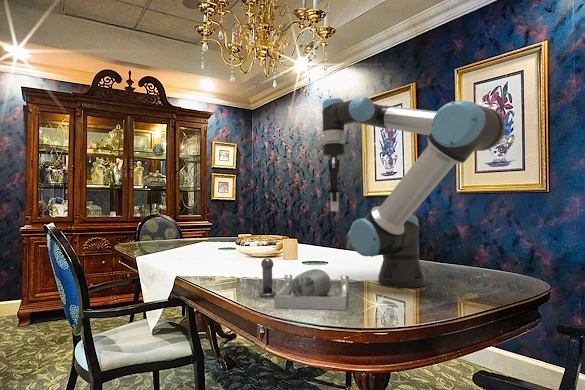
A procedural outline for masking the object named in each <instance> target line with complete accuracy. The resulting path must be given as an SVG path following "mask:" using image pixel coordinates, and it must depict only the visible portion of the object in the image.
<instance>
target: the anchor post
mask: <svg viewBox="0 0 585 390" xmlns="http://www.w3.org/2000/svg"><path fill="white" fill-rule="evenodd" d="M260 264H261V265H260V266H261V268H262V290H261V291H259V292H258V296H259V297H261V298H274V296H275V295H276V294H277V292H276V291H275V290H273V267H274V260H273V259H271V258H269V257H265V258H263V259H262V261H261V263H260Z"/></svg>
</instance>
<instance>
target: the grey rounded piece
mask: <svg viewBox="0 0 585 390" xmlns="http://www.w3.org/2000/svg"><path fill="white" fill-rule="evenodd" d="M331 288H332V281H331V278H330V276H329V274H328V273H327V272H326V271H325V270H322V269H319V268H315V269H314V268H313V269H308V270H305V271H304V272H301V273H300V274H298V275H296V276H294V277H293V278H292V290H293V292H292V293H293V294H294V295H293V296H326V295H328V294H329V293H330V291H331V290H332V289H331Z"/></svg>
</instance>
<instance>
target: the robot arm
mask: <svg viewBox="0 0 585 390" xmlns="http://www.w3.org/2000/svg"><path fill="white" fill-rule="evenodd" d="M321 110H322V111H321V113H322V134H321V135H320V137H321V138H322V143H323V145H322V153H323V154H322V155H323V156H327V157H329V158H330V159H328V160H327V165H328V172H329V178H330V179H329V180H330V181H329V182H330V188H329V190H328V193H330V212H339V211H340V210H339V209H340V206H339V204H340V202H339V193H341V190H339V173H340V163H341V161H340V159H338V156H340V157H341V156H344V155H345V152H346V151H345V149H346V148H345V146H346V145H345V144H344V143H346V141H345V137H346V136H345V135H346V134H345V125H350V124H351V125H352V124H360V125H364V126H365V125H366V126H371V127H375V128H376V127H377V128H381V129H390V130H396V131H402V132H405V133H406V132H408V133H413V134H418V135H423V136H427V146H426V148H425V149H424V150H423V151H422V153H421V154H420V156H419V157H418V158H416V160H415V162H414V163H413V165H412V166H411V167H410V168H409V169H408V171H407V172H406V173H405V174H404V175H403V177H402V179H401V180H400V181H399V182H398V183H397V185H395V188H393V190H392V191H391V192H390V194H389V195H388V196H387V198H385V200H384V201H383V203H382V204H381V205H380V206H374V207H373V208H372V209H371V210H370V211H369V212H368V213H367V215H366V216H365V217H364V218H363V217H362V218H361V217H360V218H358V219H356V220H355V221H353V223H352V224H351V226H350V229H349V237H350V238H349V239H350V244H351V246H352V248H353V249H354V251H355V252H356V253H357V254H359V255H360V256H363V257H373V258H374V257H377V256H382V255H383V256H382V257H383V258H382V259H383V260H382V263H381V267H380V270H379V272H378V273H379V274H378V276H377V277H378V278H377V279H378V280H377V281H378V284H380V285H383V286H387V287H391V288H392V287H393V288H408V289H409V288H419V287H424V286H425V285H426V276H425V274H424V271H423V268H422V264H421V261H420V225H419V218H418V217H417V216H415V215H414V213H415V212H416V210H418V208H419V207H420V206H421V204H423V202H424V201H425V200H426V199H427V197H428V196H429V195H430V193H432V192H433V190H434V189H435V188H436V187H437V186H438V184H439V183H440V182H441V181H442V180H443V179H444V177H445V176H446V175H447V174H448V173H449V172H450V170H451V169H453V167H454V166H455V165H456V164H458V165H459V164H464V163H465V162H466V161H467V160H468V159H469V158H470V156H471V155H472V154H473V153H474V151H475V152H476V151H478V152H481V151H483V152H484V151H487V150H490V149H492V148H494V147H496V146H497V145H498V144H499V143H501V141H502V139H503V138H504V135H505V132H506V124H505V120H504V118H503V116H502V115H501V114H500V113H499V112H498V111H496V110H495V109H492V108H490V107H485V106H482V105H480V104H478V103H475V102H473V101H467V100H455V101H450V102H448V103H446V104H444V105H443V106H441V107H440V108H439V109H438V110H437V111H435V110H427V109H418V108H417V109H416V108H408V107H400V106H399V107H398V106H390V105H382V104H377V103H374V102H373V100H371V98H369V97H368V96H362V97H357V98H354V99H349V100H347V101H344V100H343V98H339V97H338V98H337V97H332V98H326V99H325V100H324V101H323V102H322V109H321Z"/></svg>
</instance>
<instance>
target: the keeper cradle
mask: <svg viewBox="0 0 585 390" xmlns="http://www.w3.org/2000/svg"><path fill="white" fill-rule="evenodd" d="M292 282H293V275H292V274H285V275H284V284H283V285H282V287H281V288H280V289H279V290H278V291H277V292H276V295H275V296H274V297H273V298H274V299H273V301H274V305H273V307H274V308H275V309H294V310H296V309H298V310H299V309H301V310H328V309H334V310H335V311H337V310H339V311H346V310H347V300H348V299H347V297H348V294H350V283H349V282H350V277H349V275H341V276H340V294H341V295H340V296H326V295H324V296H295V295H289V294H291V293H293V290H292Z"/></svg>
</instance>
